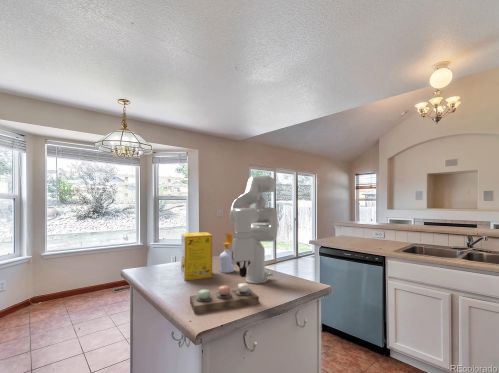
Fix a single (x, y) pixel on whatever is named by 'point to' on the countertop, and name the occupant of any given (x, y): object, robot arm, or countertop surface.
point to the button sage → (203, 294)
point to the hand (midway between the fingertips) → (243, 276)
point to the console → (223, 301)
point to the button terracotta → (224, 290)
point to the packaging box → (196, 255)
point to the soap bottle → (226, 257)
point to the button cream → (243, 287)
